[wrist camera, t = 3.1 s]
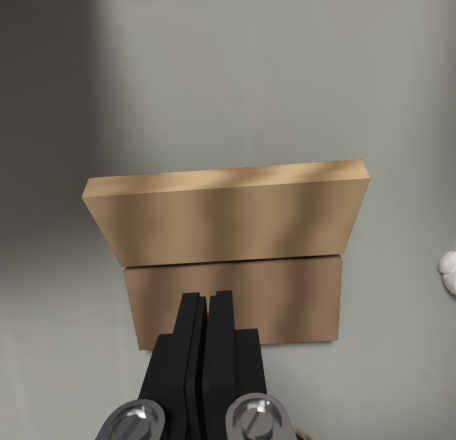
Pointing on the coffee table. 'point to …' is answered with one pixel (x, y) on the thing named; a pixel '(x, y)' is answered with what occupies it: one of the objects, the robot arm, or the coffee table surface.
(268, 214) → the oak plank
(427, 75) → the coffee table surface
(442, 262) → the white flat figurine
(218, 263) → the walnut board
